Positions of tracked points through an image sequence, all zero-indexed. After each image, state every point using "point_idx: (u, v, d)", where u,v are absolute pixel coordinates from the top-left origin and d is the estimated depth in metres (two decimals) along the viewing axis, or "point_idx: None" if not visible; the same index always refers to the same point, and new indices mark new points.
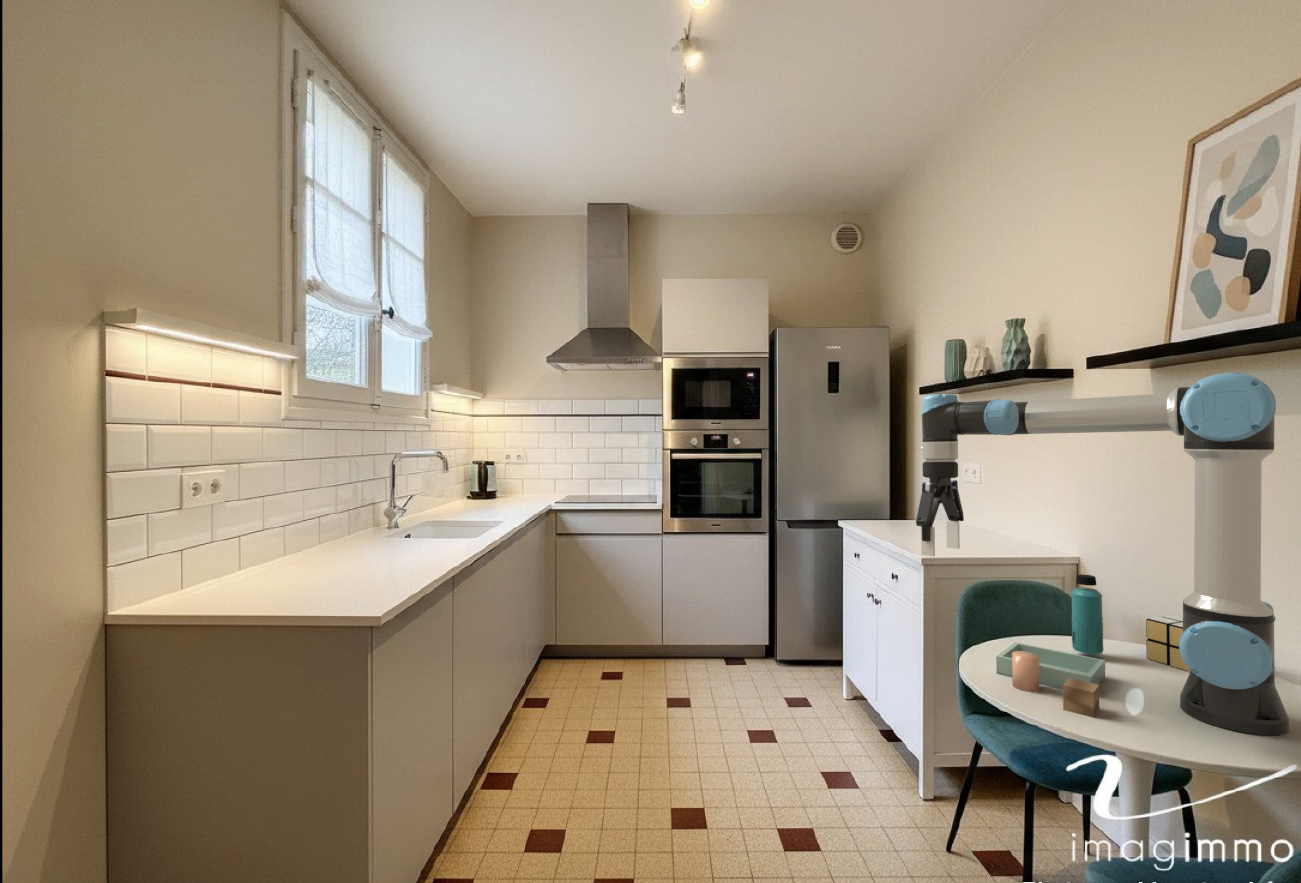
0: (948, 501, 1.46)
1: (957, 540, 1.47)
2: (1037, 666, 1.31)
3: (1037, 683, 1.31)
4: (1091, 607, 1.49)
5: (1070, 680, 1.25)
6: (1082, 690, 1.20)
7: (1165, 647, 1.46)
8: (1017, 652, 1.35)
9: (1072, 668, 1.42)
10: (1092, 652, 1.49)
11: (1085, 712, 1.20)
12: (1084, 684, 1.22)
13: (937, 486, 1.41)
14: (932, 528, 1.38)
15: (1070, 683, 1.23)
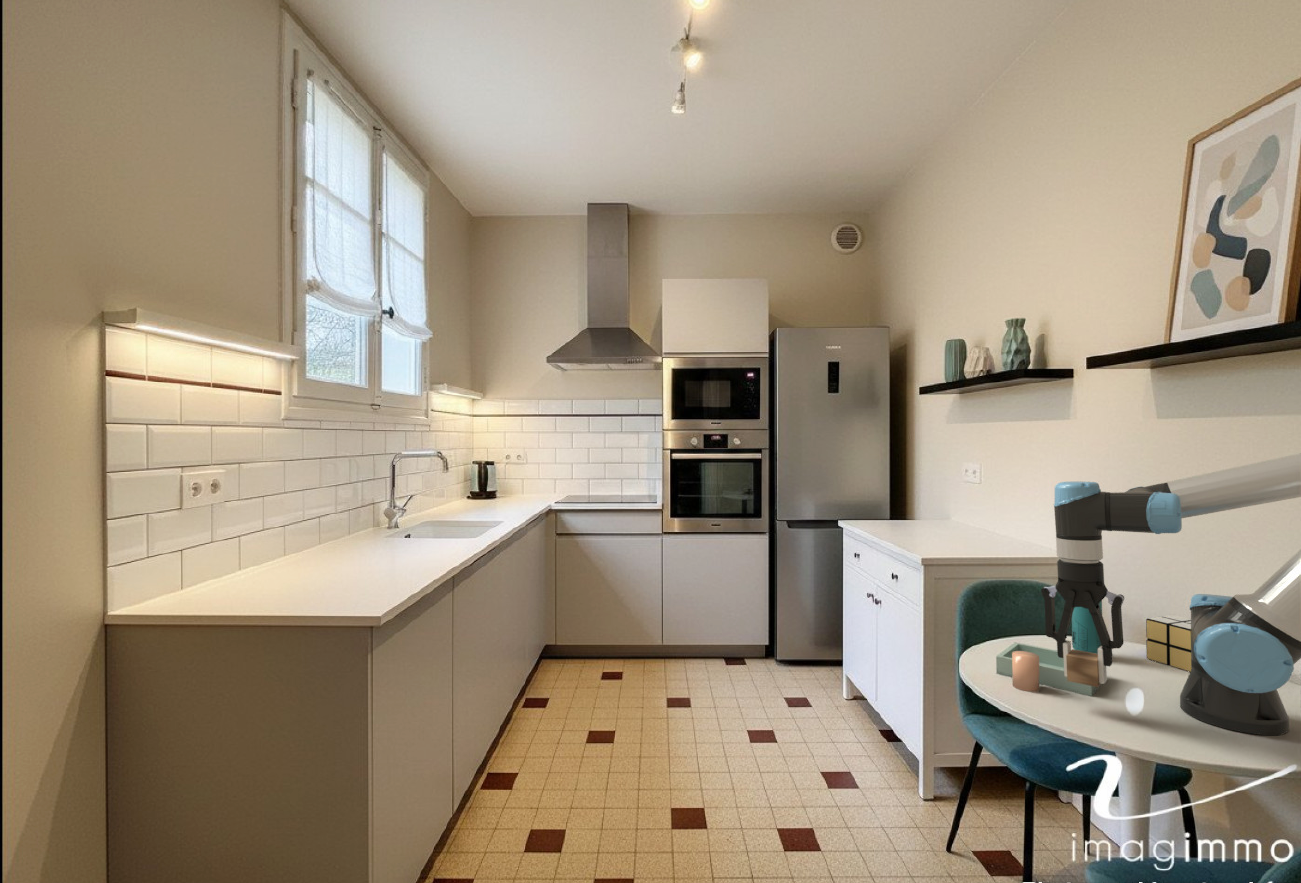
0: None
1: (1099, 672, 1.19)
2: (1037, 666, 1.31)
3: (1037, 683, 1.31)
4: None
5: (1073, 651, 1.24)
6: (1086, 660, 1.20)
7: (1165, 647, 1.46)
8: (1017, 652, 1.35)
9: None
10: (1092, 652, 1.49)
11: (1089, 681, 1.19)
12: (1087, 654, 1.22)
13: (1057, 589, 1.24)
14: (1063, 644, 1.23)
15: (1073, 653, 1.23)
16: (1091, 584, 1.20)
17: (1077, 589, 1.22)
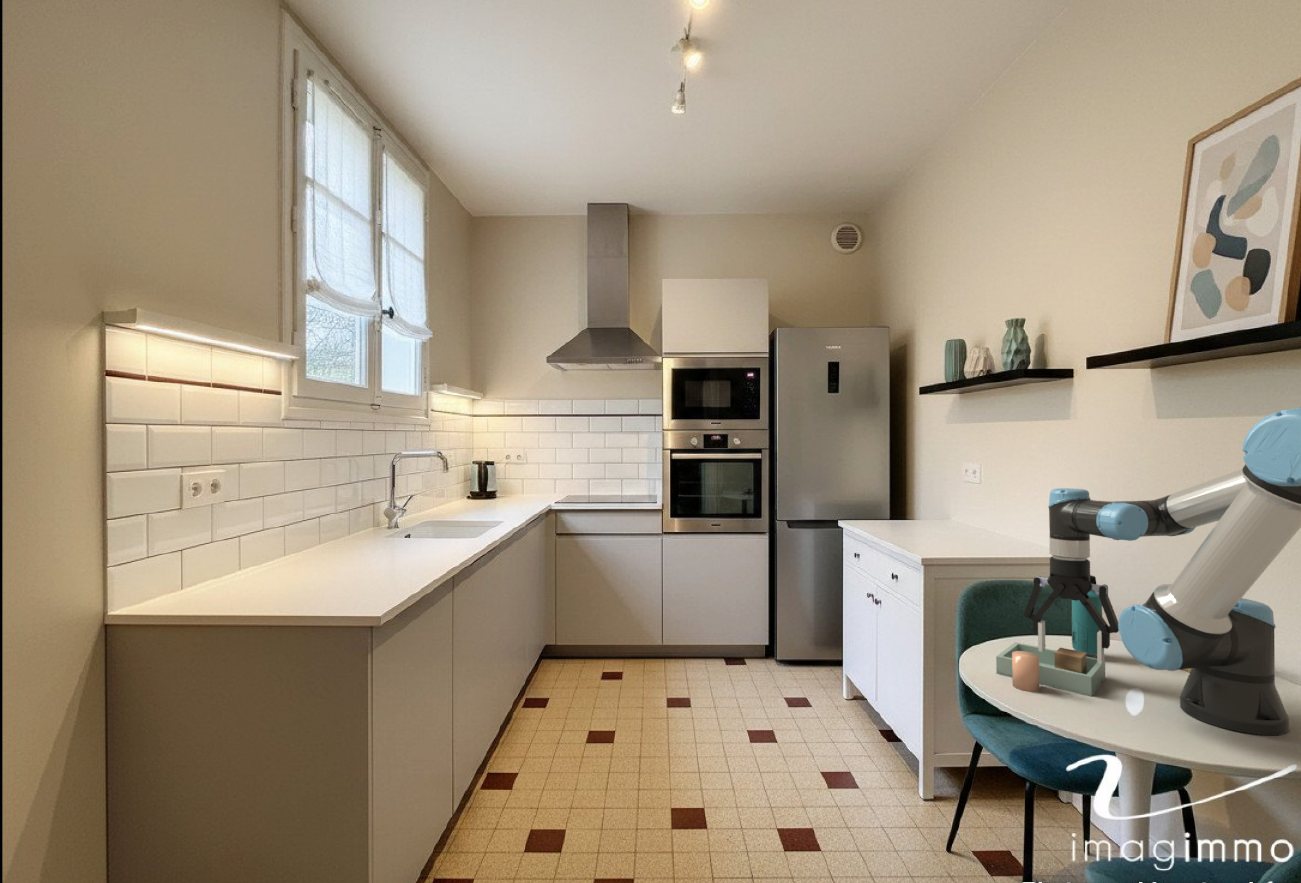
0: None
1: (1097, 653, 1.34)
2: (1037, 666, 1.31)
3: (1037, 683, 1.31)
4: None
5: (1061, 649, 1.41)
6: (1071, 657, 1.36)
7: None
8: (1017, 652, 1.35)
9: None
10: (1092, 652, 1.49)
11: None
12: (1073, 652, 1.39)
13: (1048, 581, 1.41)
14: (1038, 623, 1.42)
15: (1061, 651, 1.40)
16: (1077, 580, 1.37)
17: (1066, 583, 1.38)
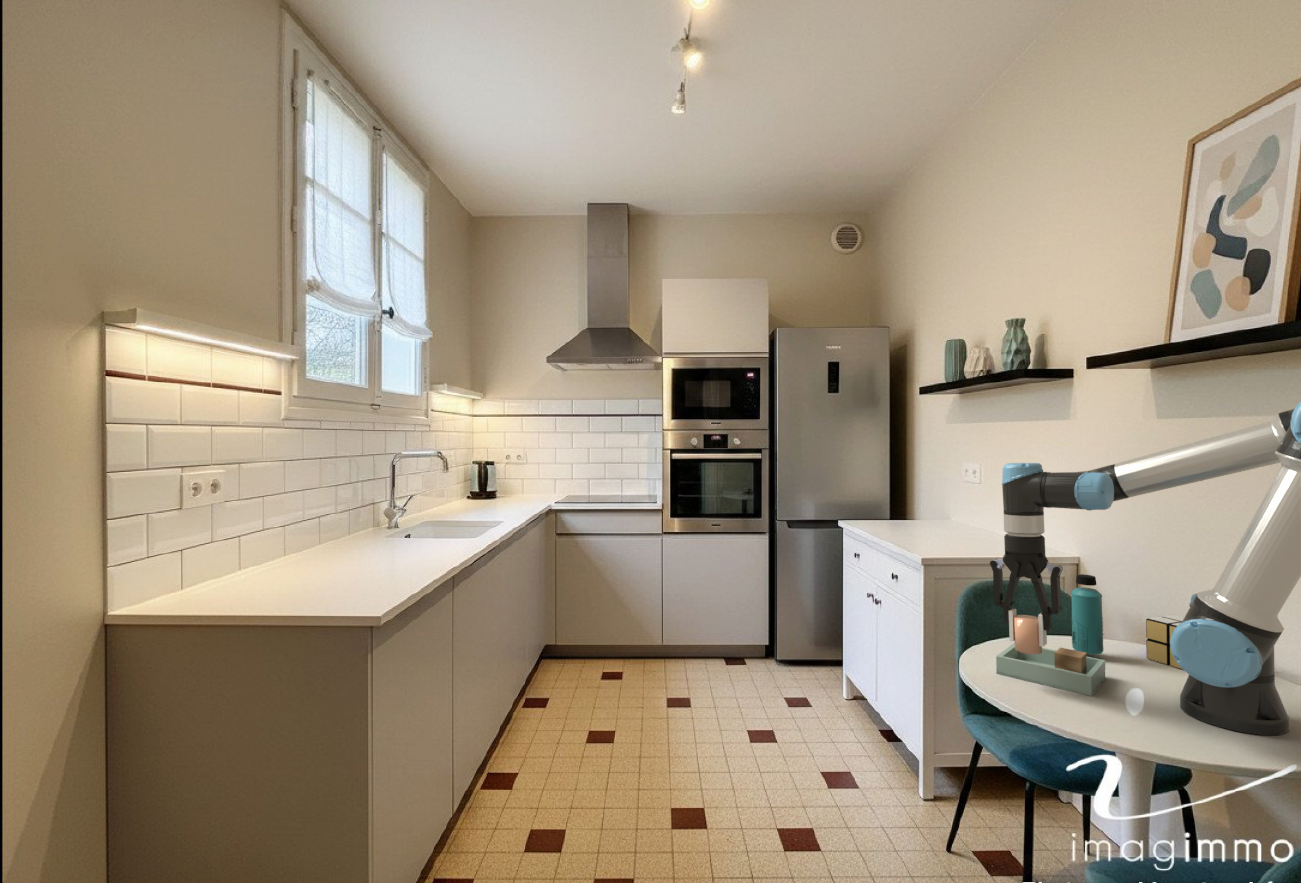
0: None
1: (1039, 636, 1.31)
2: None
3: None
4: (1090, 607, 1.49)
5: (1061, 649, 1.41)
6: (1071, 657, 1.36)
7: (1165, 647, 1.46)
8: (1019, 616, 1.35)
9: None
10: (1092, 652, 1.49)
11: None
12: (1073, 652, 1.39)
13: (1004, 561, 1.36)
14: (1009, 611, 1.35)
15: (1061, 651, 1.40)
16: (1033, 556, 1.31)
17: (1021, 561, 1.33)
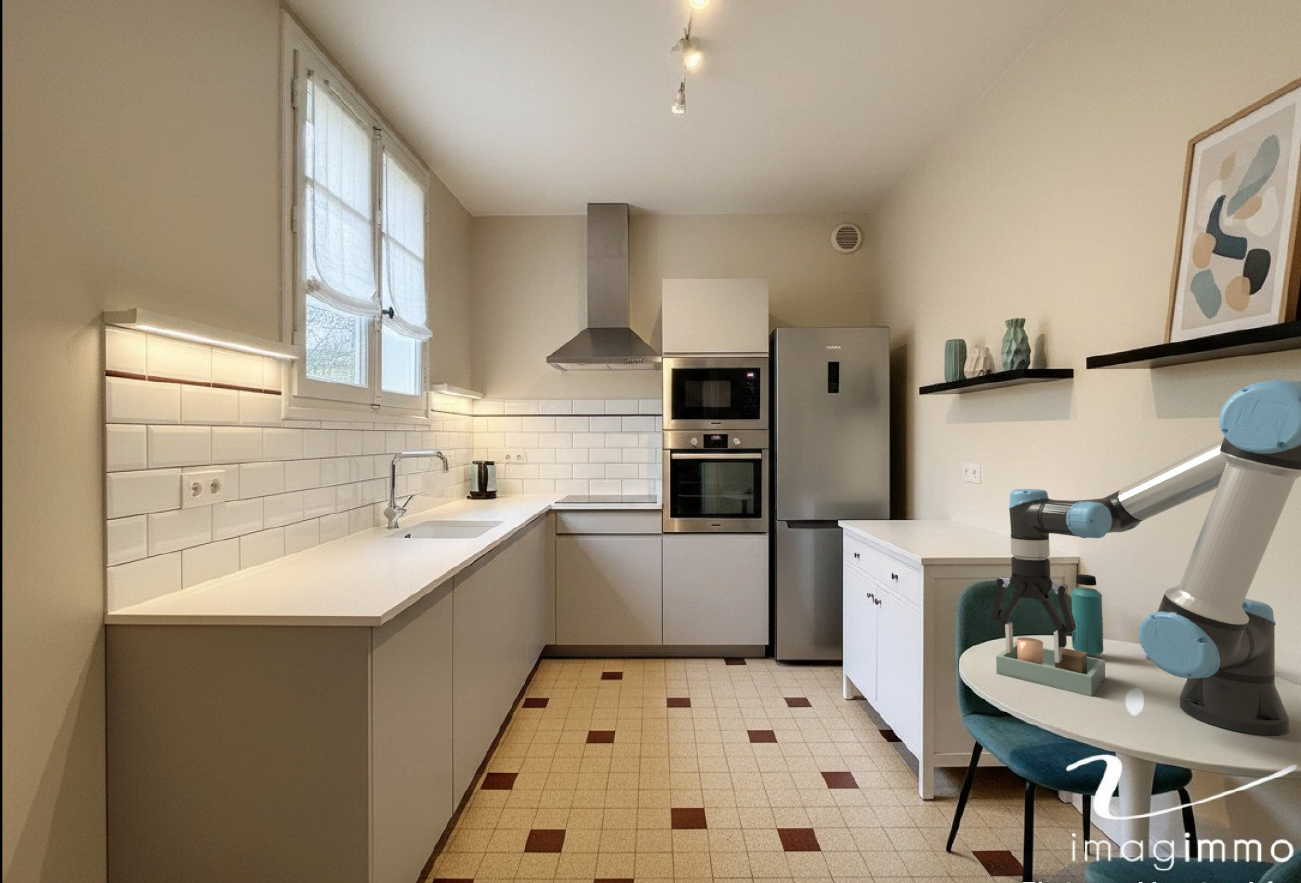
0: None
1: (1054, 652, 1.36)
2: (1041, 651, 1.39)
3: None
4: (1090, 607, 1.49)
5: None
6: (1072, 657, 1.36)
7: None
8: (1022, 638, 1.42)
9: None
10: (1092, 652, 1.49)
11: None
12: (1073, 652, 1.39)
13: (1010, 581, 1.43)
14: (1005, 625, 1.43)
15: None
16: (1038, 579, 1.39)
17: (1027, 582, 1.40)
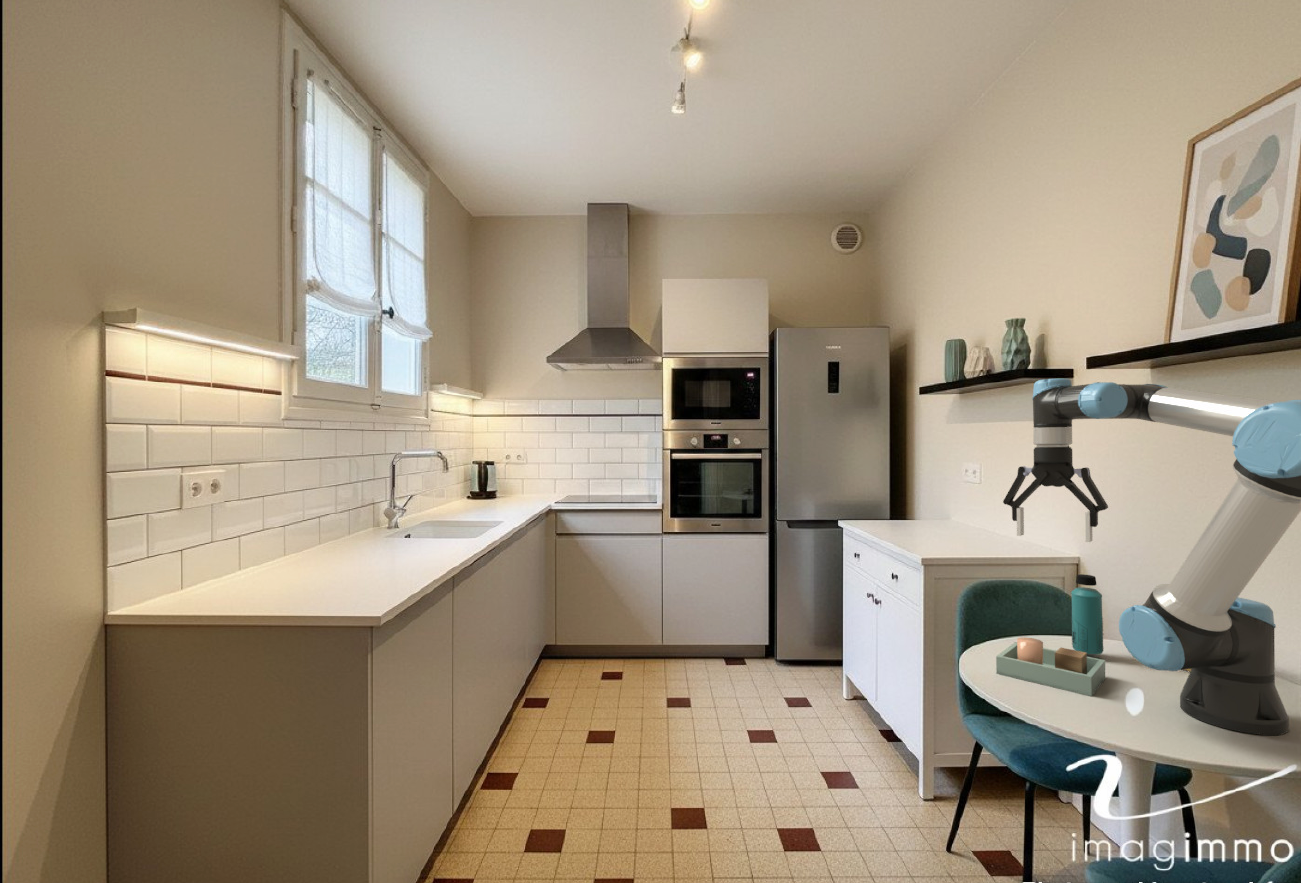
0: None
1: None
2: (1041, 651, 1.39)
3: None
4: (1090, 607, 1.49)
5: (1061, 649, 1.41)
6: (1072, 657, 1.36)
7: None
8: (1022, 638, 1.42)
9: None
10: (1092, 652, 1.49)
11: None
12: (1073, 652, 1.39)
13: (1032, 470, 1.45)
14: (1017, 509, 1.47)
15: (1061, 651, 1.40)
16: (1059, 468, 1.41)
17: (1049, 471, 1.42)
